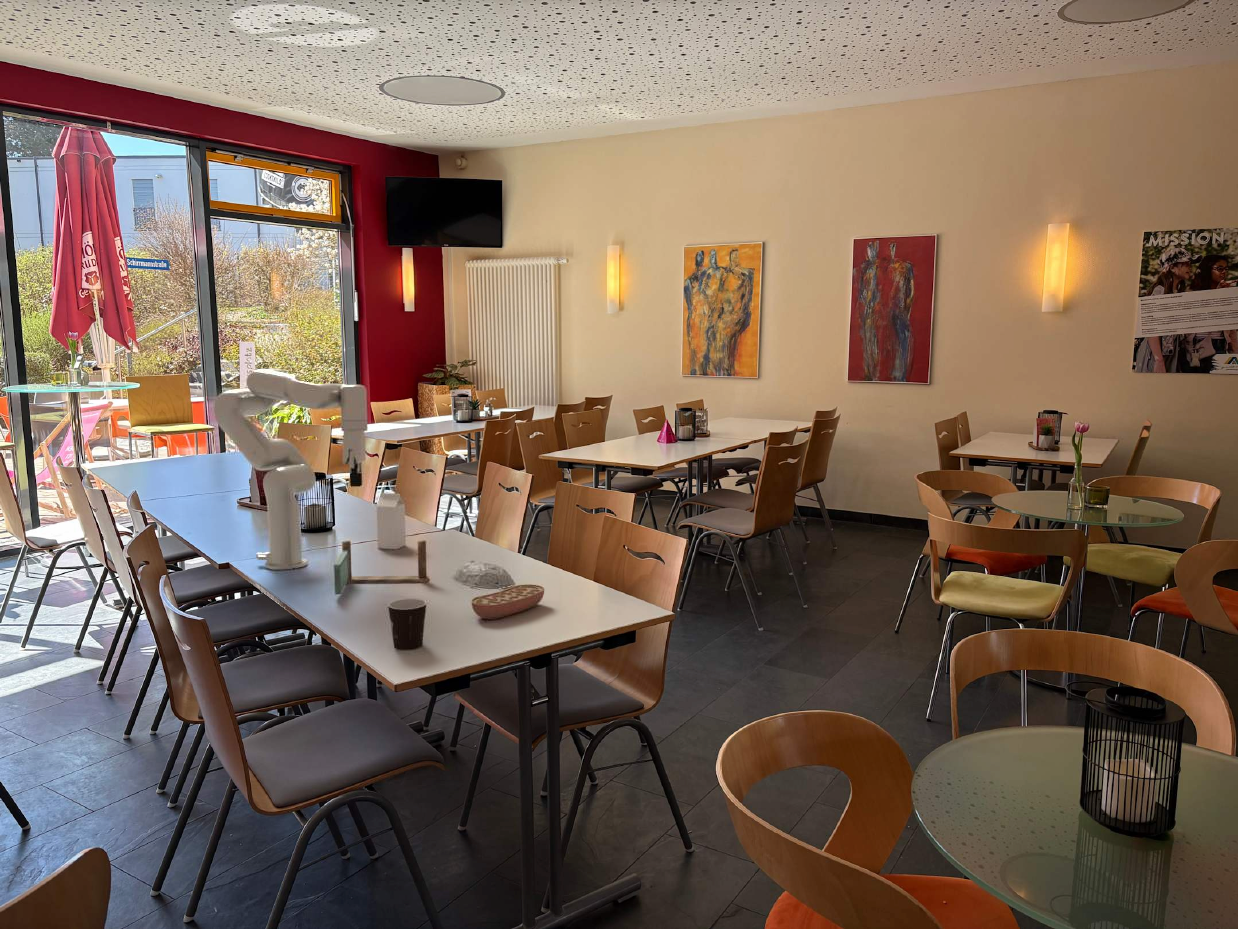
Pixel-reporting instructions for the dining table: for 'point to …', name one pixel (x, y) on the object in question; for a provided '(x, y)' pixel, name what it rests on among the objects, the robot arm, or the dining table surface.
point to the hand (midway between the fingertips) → (356, 485)
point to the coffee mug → (407, 623)
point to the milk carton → (390, 521)
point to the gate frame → (384, 579)
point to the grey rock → (482, 576)
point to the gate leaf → (341, 571)
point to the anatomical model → (507, 601)
